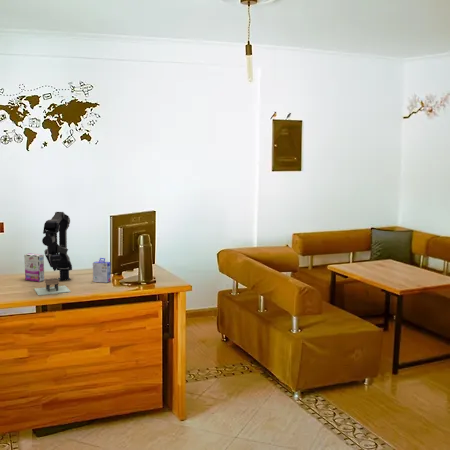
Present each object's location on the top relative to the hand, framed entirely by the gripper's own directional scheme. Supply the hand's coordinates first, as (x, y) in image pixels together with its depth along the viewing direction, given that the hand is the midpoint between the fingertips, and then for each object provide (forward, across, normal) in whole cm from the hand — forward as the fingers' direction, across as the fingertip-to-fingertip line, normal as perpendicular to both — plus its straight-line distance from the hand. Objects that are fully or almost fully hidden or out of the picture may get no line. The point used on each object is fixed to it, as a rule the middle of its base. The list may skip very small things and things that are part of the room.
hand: (53, 268), depth 341 cm
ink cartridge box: (+13, +9, -31) cm, 35 cm away
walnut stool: (+12, -1, +1) cm, 12 cm away
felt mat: (+13, -1, +1) cm, 13 cm away
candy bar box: (+13, +28, +6) cm, 31 cm away
